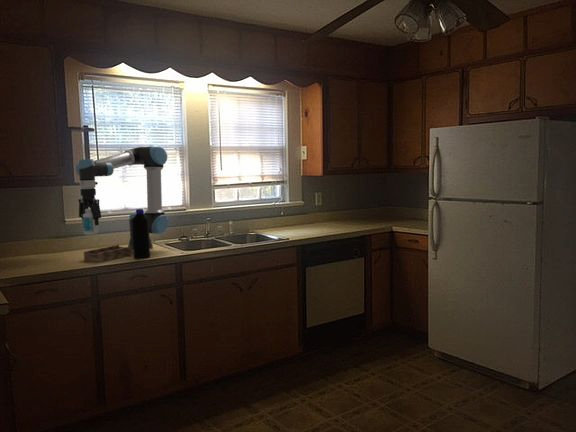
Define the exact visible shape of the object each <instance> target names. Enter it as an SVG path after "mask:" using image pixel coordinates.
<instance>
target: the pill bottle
mask: <svg viewBox="0 0 576 432" xmlns="http://www.w3.org/2000/svg"><path fill="white" fill-rule="evenodd" d="M85 212H86V213H85V214H83V224H82V229H83V228H84V231H83V234H84V235H87V236H91V235H97V234H99V231H95V232H94V231H93V215H92V212H91V209H90V208H88V209H85Z"/></svg>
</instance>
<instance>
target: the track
mask: <svg viewBox="0 0 576 432" xmlns="http://www.w3.org/2000/svg"><path fill="white" fill-rule="evenodd" d="M130 256H134V250H133V246H130V247H128V246H126V247H125V246H120V245H119V244H116V245H115V244H114V245H110V246H104V247H100V248H96V249H90V250H86V251H83V259H84V261H88V262H96V263H103V261H104V262H108V261H111V260H116V259H121V258H124V257H130Z"/></svg>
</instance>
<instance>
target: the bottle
mask: <svg viewBox="0 0 576 432" xmlns="http://www.w3.org/2000/svg"><path fill="white" fill-rule="evenodd" d="M144 212H145V211H144V209H143V208H137V209H135V213H137V214H136V216H135V217H134V218H133V219H132V228H133V247H134V250H133V258H134V259H136V260H142V259H143V260H144V259H149V258H150V257H151V252H150V251H151V250H150V247H149V236H150V233H149V227H148V218H147V217H146V216H145V215H144V214H143V213H144Z"/></svg>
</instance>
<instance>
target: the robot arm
mask: <svg viewBox="0 0 576 432" xmlns="http://www.w3.org/2000/svg"><path fill="white" fill-rule="evenodd" d="M164 148H165V147H163V146H161V145H156V144H154V145H139V146H136V147H133V148H131V149H127V150H125V151H124V152H122V153H118V154H114V155H110V156H107V157H103V158H98V159H96V160H94V159H92V158H91V159H90V158H89V159H88V158H87V159H82V158H81V159H79V160H78V163H77V164H76V166H75V173H76V174H77V175H78V176H79V185H80V196H81V197H82V198H79V199H78V217H79V218H81V223H82V225H83V214H85V213H86V212H85V209H91V212H92V215H93V231H94V232H95V231H99V223H100V222H99V219H101V218H102V213H101V206H100V199H96V195H97V190H96V177H110V176H112V175H113V174H114V171H115V169H118V168H121V167H125V166H130V167H131V166H136V165H137V166H139V165H143V168H144V169H145V170H146V194H147V196H146V197H147V198H146V199H147V200H146V201H147V202H146V203H147V206H146V207H147V208H146V210H145V211H144V213H143V214H144V215H145V216H146V217H147V218H148V227H149V234H155V235H156V234H157V235H159V234H160V235H161V234H164V233H165V232H166V231H167V230H168V228H169V224H170V222H169V218H168V216H167V215H165V210H163V205H162V204H163V202H162V200H163V199H162V198H163V196H162V195H163V193H162V170H163V169H164V165H165V164H166V163H167V160H168V153H167V151H166V149H164ZM136 214H137V213H136V212H135V213H130V214H129V217H128V218H129V219H128V224H129V241H128V244H127V247H130V246H133V228H132V219H133V218H134V217H135V216H136ZM82 230H83V232H84V228H83V227H82ZM153 244H154V243H152V239H151V237H150V235H149V247H150V249H151V250H152V249H153V247H154V246H153ZM133 251H134V247H133Z"/></svg>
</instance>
